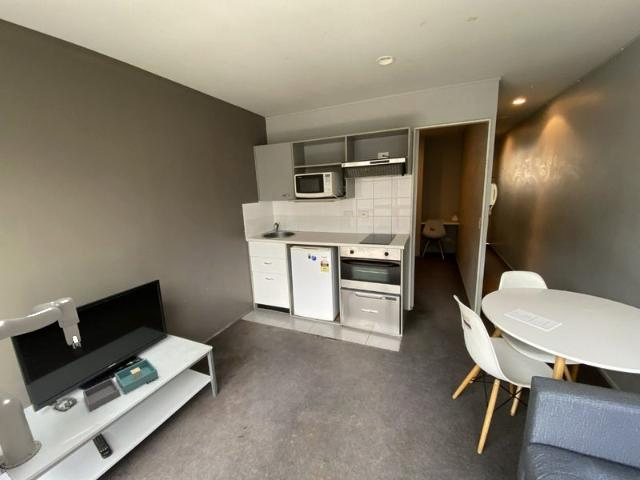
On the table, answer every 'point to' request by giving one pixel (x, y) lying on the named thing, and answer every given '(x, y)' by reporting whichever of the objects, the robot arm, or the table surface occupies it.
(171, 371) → the table surface
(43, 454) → the table surface
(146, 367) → the bin
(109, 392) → the bin
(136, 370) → the stone block
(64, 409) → the egg carton
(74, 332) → the robot arm
